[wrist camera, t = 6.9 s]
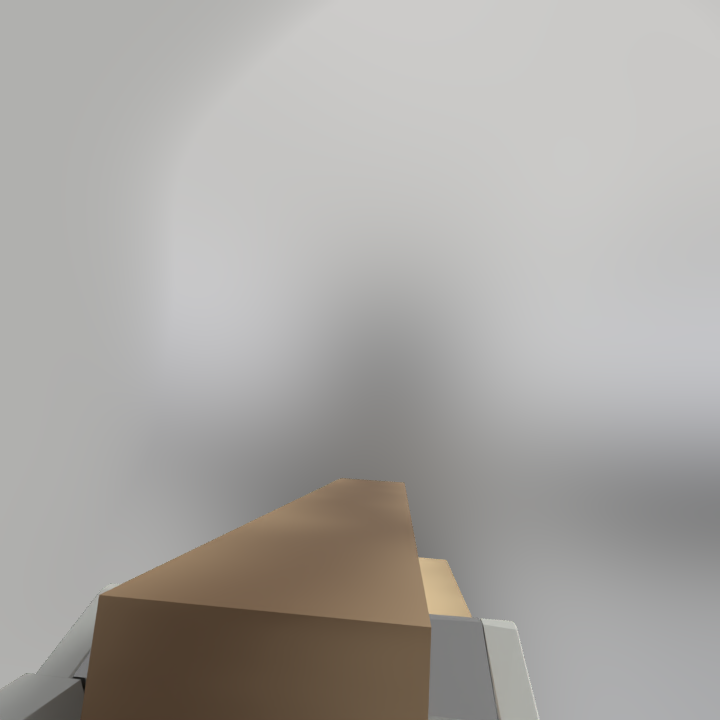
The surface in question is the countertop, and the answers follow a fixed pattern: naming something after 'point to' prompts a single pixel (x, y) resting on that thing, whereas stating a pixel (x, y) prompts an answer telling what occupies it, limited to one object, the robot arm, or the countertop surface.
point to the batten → (275, 620)
